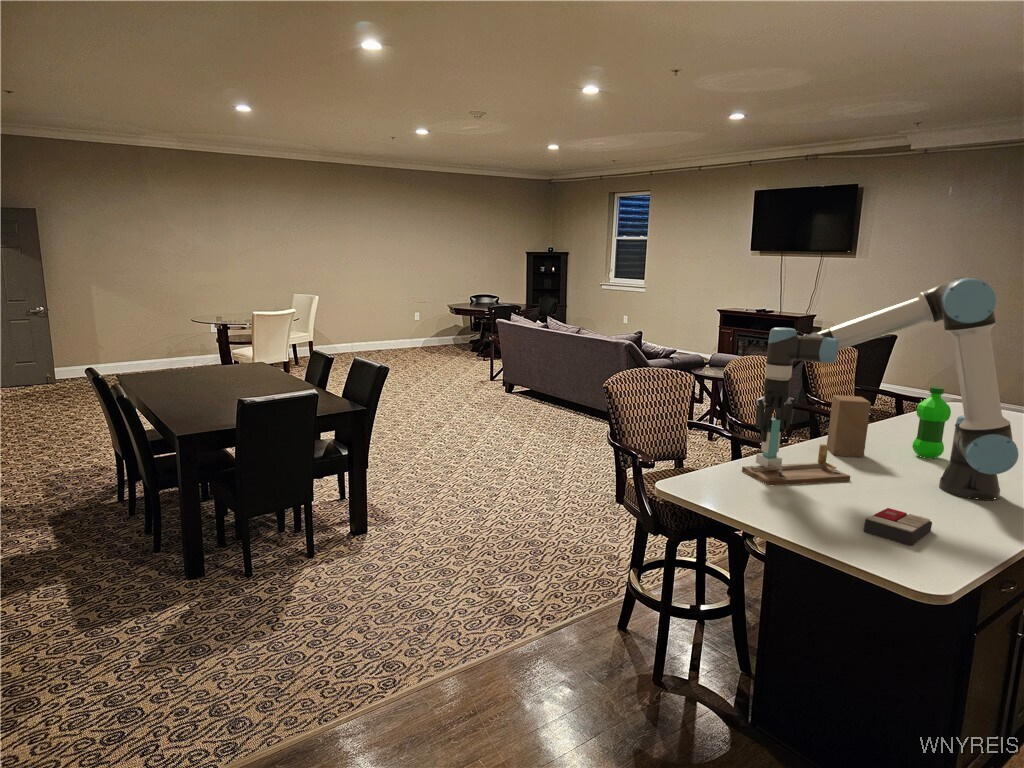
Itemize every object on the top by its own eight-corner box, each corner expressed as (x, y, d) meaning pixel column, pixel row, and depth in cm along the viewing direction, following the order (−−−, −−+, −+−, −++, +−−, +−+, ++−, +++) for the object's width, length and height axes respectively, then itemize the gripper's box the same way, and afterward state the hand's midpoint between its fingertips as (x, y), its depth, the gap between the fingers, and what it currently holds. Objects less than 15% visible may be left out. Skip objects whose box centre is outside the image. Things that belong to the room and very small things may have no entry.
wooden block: (863, 458, 232) (871, 402, 229) (833, 455, 234) (840, 400, 231) (855, 450, 242) (862, 396, 238) (825, 448, 244) (832, 394, 240)
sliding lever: (787, 474, 205) (793, 423, 202) (773, 475, 204) (779, 424, 201) (768, 465, 214) (774, 416, 211) (755, 465, 213) (760, 416, 210)
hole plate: (849, 480, 207) (853, 453, 205) (769, 485, 200) (772, 457, 198) (818, 466, 220) (821, 441, 219) (741, 471, 213) (744, 445, 211)
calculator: (933, 518, 168) (914, 530, 158) (930, 534, 169) (911, 547, 159) (886, 506, 176) (865, 516, 166) (883, 521, 177) (862, 532, 167)
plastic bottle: (950, 459, 234) (961, 390, 229) (929, 462, 230) (940, 391, 225) (923, 451, 243) (934, 384, 238) (903, 454, 239) (913, 385, 234)
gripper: (792, 375, 211) (784, 446, 215) (747, 376, 206) (740, 449, 211) (808, 379, 203) (799, 453, 208) (762, 380, 199) (754, 455, 204)
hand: (769, 451), depth 209 cm, fingers closed on sliding lever, 3 cm apart
